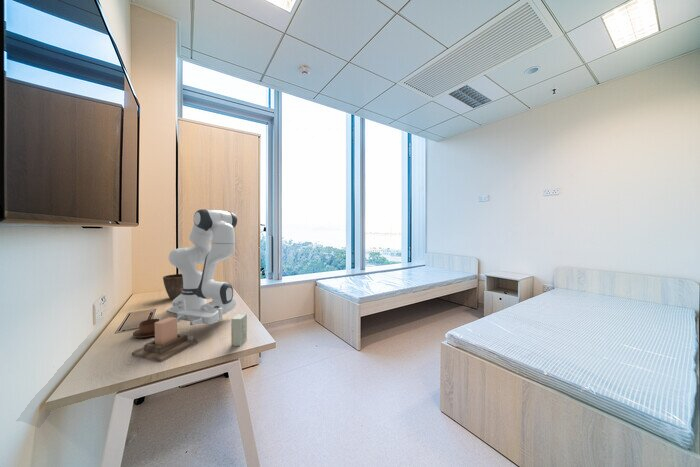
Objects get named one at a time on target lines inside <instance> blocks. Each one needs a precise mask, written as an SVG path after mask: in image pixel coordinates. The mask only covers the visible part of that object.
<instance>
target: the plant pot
mask: <svg viewBox="0 0 700 467" xmlns="http://www.w3.org/2000/svg"><path fill="white" fill-rule="evenodd" d="M162 280H163V285H164V288H165V292H166V294H167V296H168V298H169V300H172V301H173V300H174V299H175V298H176V297H178V296H179V295H180V294H181V291H182V289H181V288H183V276H182V273H175V274H174V273H173V274H168V275H164V276H163V277H162ZM180 290H181V291H180Z"/></svg>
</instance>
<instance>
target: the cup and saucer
mask: <svg viewBox="0 0 700 467" xmlns="http://www.w3.org/2000/svg"><path fill="white" fill-rule="evenodd" d="M158 321H160V319H159V318H149V319H145V320H142V321H140V322H139V325H138V326H139V329H137V330H135V331H134V332H133V334H132V335H133V337H135V338H139V339H141V338H142V339H143V338H150V337H155V322H158Z"/></svg>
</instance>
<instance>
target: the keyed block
mask: <svg viewBox="0 0 700 467" xmlns="http://www.w3.org/2000/svg"><path fill="white" fill-rule="evenodd" d="M177 334H178V323H177V317H173V316H168V317H166V318H164V319H159V321H158V322H155V335H154V340H155V345H161V346H162V345H164V344H166V343H169V342H171V341H173V340H175V339H177Z"/></svg>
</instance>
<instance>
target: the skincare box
mask: <svg viewBox="0 0 700 467" xmlns="http://www.w3.org/2000/svg"><path fill="white" fill-rule="evenodd" d="M230 320H231V321H230V323H231V325H230V326H231V329H230V331H231V332H230V334H231V336H230V337H231V340H230V341H231V342H230V343H231V347H232V346H234V347H235V346H236V347H241V346H242V345H243V344H244V343H245V342H246V341H247V340H248V326H247V325H248V314H247V313H237V314H235V315H234V316H233V317H232V318H231V319H230Z"/></svg>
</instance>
